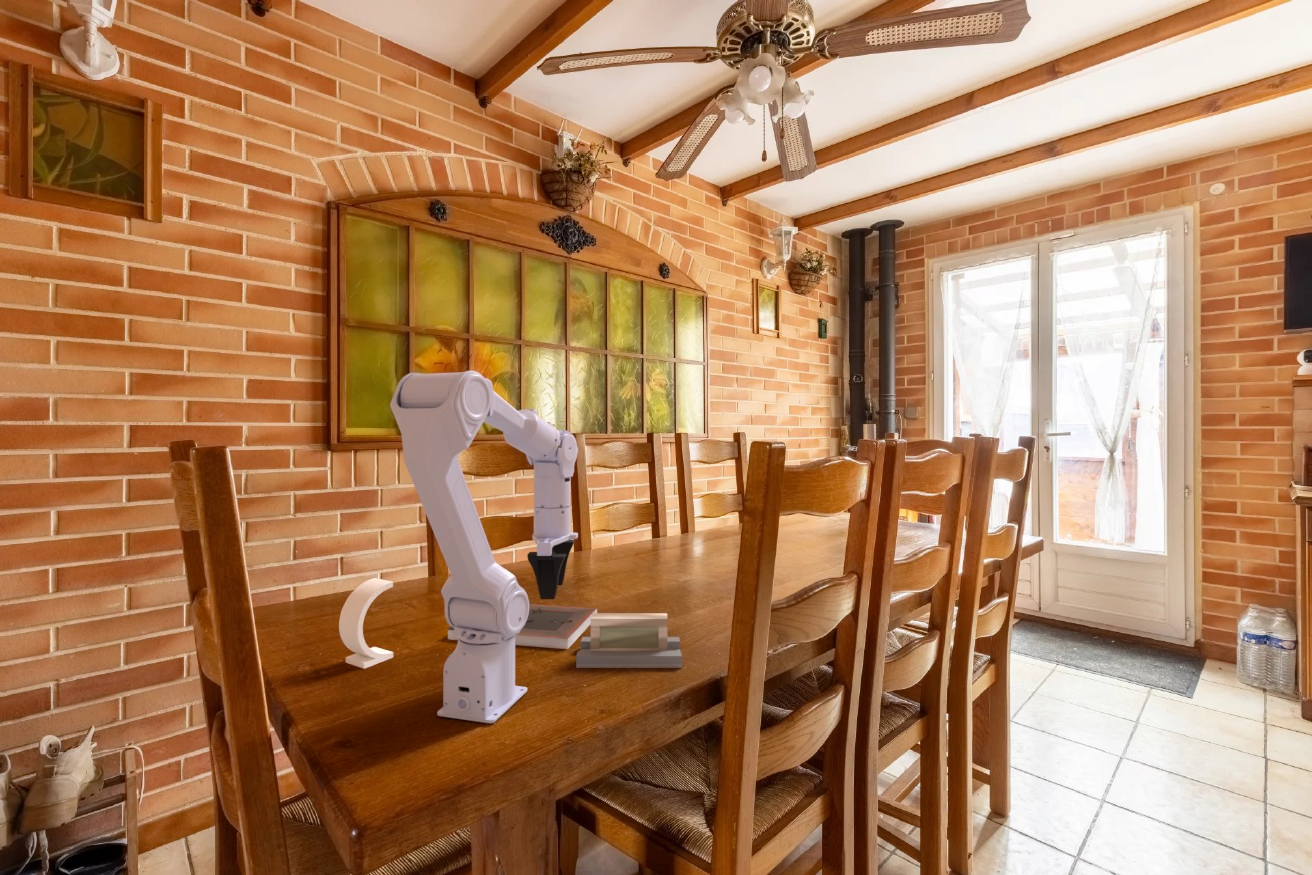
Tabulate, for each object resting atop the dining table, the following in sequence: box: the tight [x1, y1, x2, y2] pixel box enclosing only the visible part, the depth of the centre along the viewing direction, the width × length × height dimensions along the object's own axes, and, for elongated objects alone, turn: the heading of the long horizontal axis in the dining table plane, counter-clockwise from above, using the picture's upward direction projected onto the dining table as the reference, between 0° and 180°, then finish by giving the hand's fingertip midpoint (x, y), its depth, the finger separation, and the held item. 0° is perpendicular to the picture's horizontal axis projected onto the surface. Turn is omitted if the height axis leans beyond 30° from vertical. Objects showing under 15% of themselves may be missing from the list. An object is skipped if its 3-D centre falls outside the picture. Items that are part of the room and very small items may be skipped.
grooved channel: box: [575, 636, 683, 669], centre depth 92 cm, size 8×16×2 cm, turn 91°
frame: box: [590, 612, 669, 651], centre depth 92 cm, size 3×12×6 cm, turn 90°
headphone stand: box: [338, 577, 394, 670], centre depth 90 cm, size 5×6×12 cm
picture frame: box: [447, 603, 598, 650], centre depth 106 cm, size 16×2×22 cm
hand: (552, 591), depth 92 cm, fingers open, 7 cm apart
